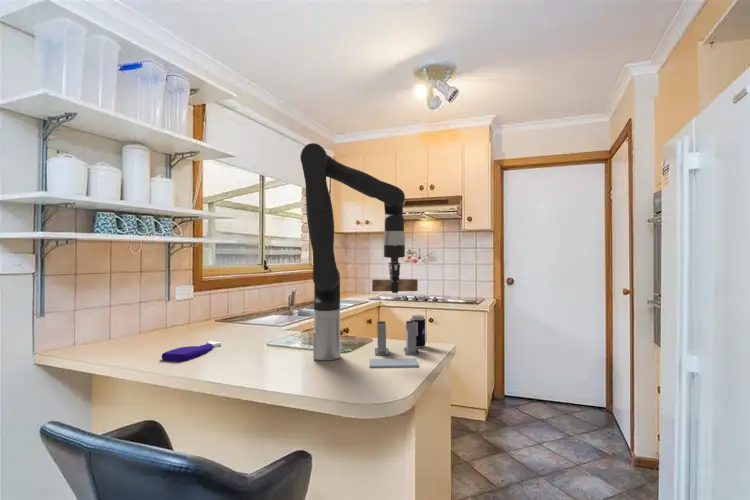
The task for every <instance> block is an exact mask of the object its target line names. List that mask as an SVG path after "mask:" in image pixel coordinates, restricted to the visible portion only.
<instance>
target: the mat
mask: <svg viewBox="0 0 750 500" xmlns="http://www.w3.org/2000/svg"><path fill="white" fill-rule="evenodd" d="M419 366H420V365H419V363H418V360H417V358H413V357H412V358H370V359H369V368H370V369H372V368H373V369H375V368H377V369H379V368H382V369H384V368H419Z"/></svg>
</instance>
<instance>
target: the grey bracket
mask: <svg viewBox="0 0 750 500" xmlns="http://www.w3.org/2000/svg"><path fill="white" fill-rule="evenodd" d="M405 327H406V329H405V334H406V336H405V337H406V338H405V339H406V340H405V341H406V345H405V347H403V351H404V354H405V356H419V355H420V351H419V348H417V347H416V324H414V321H411V320H406V321H405Z"/></svg>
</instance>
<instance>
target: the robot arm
mask: <svg viewBox="0 0 750 500" xmlns="http://www.w3.org/2000/svg"><path fill="white" fill-rule="evenodd" d="M299 157H300V163H301V166H302V171H303V175H304V181H305V206H306V207H305V208H306V221H307V229H308V235H309V240H310V244H311V250H312V281H313V283H314V285H313V286H314V287H313V288H314V290H313V291H314V298H313V332H312V340H313V341H312V342H313V343H312V345H313V346H312V351H313V352H312V353H313V360H316V361H317V360H318V361H334V360H338V359H340V358H341V275H340V271H339V269H338V267H337V262H336V257H335V247H334V245H335V219H334V210H333V204H332V200H331V195H330V191H329V188H328V183H327V182H328V181H327V178H330V179H332V180H335V181H337V182H339V183H341V184H343V185H345V186H347V187H348V188H351V189H353V190H355V191H356V192H358V193H360V194H363V195H365V196H367V197H369V198H373V199H375V200H378V201H380V202H383V204H384V205H383V207H384V236H383V257H384V258H387V259H388V258H389V259H390V262H388V271H389V273H388V275H389V279H392V280H391V281H392V291H391V294H398V293H399V291H398V282H399V279H400V274H401V272H400V271H401V270H400V269H401V262H399V258H405V257H406V255H405V254H406V237H405V218H404V216H403V215H404V211H403V210H404V202H405V198H406V196H405V192H404V191H403V189H401V188H399V187H398V186H395V185H393V184H391V183H388V182H385V181H382V180H380V179H378V178H376V177H375V176H373V175H370V174H368V173H367V172H365V171H362V170H360V169H356V168H353V167H350V166H348V165H344V164H343V163H341V162H339V161H337V160H335V159H334V158H332V157H331V156H330V155H328V154H327V152H326V150H325V148H324V147H323V146H321V145H320V144H318V143H315V142H310V143H308V144H306V145H305V146H304V147H303V148H302V150H301V152H300V156H299Z"/></svg>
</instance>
